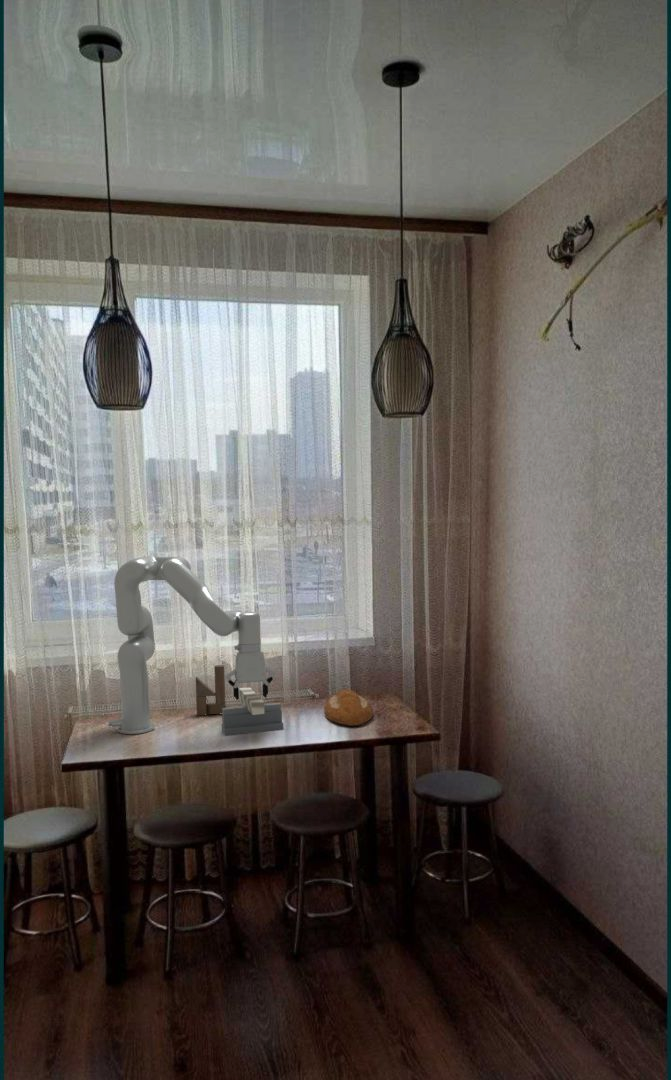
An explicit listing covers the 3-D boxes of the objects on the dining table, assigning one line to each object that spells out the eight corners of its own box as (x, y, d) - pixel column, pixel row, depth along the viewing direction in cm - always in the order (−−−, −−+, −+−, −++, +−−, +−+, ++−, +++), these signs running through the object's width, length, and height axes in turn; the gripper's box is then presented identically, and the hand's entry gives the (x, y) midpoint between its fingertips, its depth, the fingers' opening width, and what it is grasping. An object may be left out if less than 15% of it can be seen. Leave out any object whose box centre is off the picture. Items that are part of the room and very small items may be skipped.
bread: (367, 703, 326) (366, 680, 325) (378, 727, 290) (377, 702, 290) (321, 705, 324) (320, 682, 324) (327, 730, 289) (326, 704, 289)
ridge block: (225, 735, 285) (224, 711, 285) (221, 729, 292) (220, 706, 292) (283, 729, 291) (282, 706, 290) (278, 723, 298) (277, 701, 298)
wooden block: (196, 713, 316) (195, 665, 315) (226, 712, 317) (224, 664, 316) (196, 716, 312) (195, 667, 311) (226, 714, 313) (224, 666, 313)
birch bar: (264, 713, 280) (264, 701, 280) (252, 714, 279) (252, 702, 279) (250, 698, 303) (249, 687, 303) (239, 699, 302) (238, 688, 302)
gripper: (226, 651, 284) (227, 702, 285) (276, 648, 289) (277, 697, 290) (222, 648, 291) (224, 697, 292) (272, 644, 296) (273, 693, 297)
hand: (250, 697), depth 291 cm, fingers open, 9 cm apart
